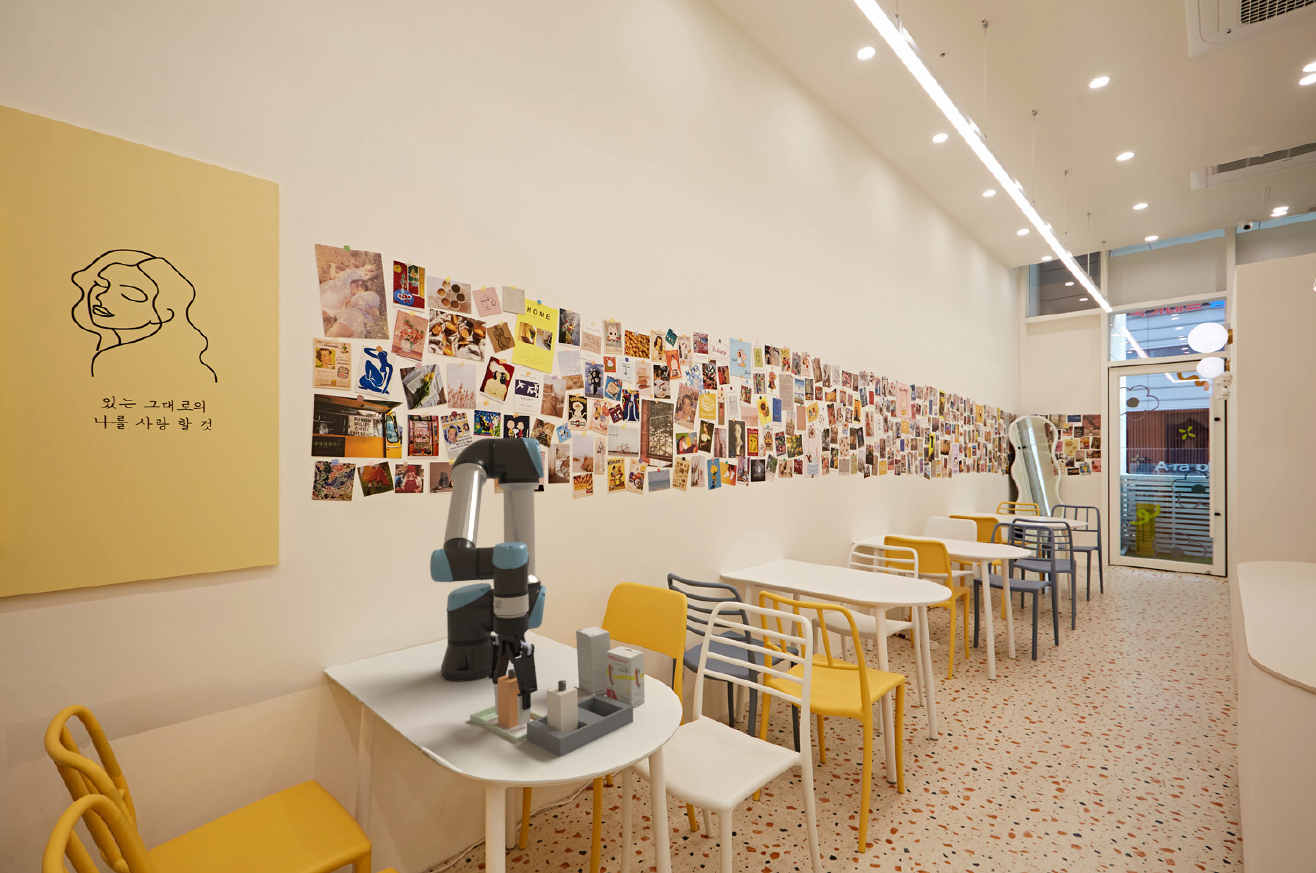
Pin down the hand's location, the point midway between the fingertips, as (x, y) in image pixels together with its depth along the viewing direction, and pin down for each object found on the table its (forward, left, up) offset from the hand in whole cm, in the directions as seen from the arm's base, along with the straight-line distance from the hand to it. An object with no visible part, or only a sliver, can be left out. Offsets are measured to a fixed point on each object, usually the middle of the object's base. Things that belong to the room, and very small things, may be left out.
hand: (512, 718), depth 132 cm
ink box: (+10, +25, -2) cm, 27 cm away
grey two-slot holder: (+15, +7, -2) cm, 17 cm away
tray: (0, 0, -2) cm, 2 cm away
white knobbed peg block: (+15, +2, -1) cm, 15 cm away
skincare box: (-1, +25, -2) cm, 25 cm away
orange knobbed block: (0, 0, -1) cm, 1 cm away
